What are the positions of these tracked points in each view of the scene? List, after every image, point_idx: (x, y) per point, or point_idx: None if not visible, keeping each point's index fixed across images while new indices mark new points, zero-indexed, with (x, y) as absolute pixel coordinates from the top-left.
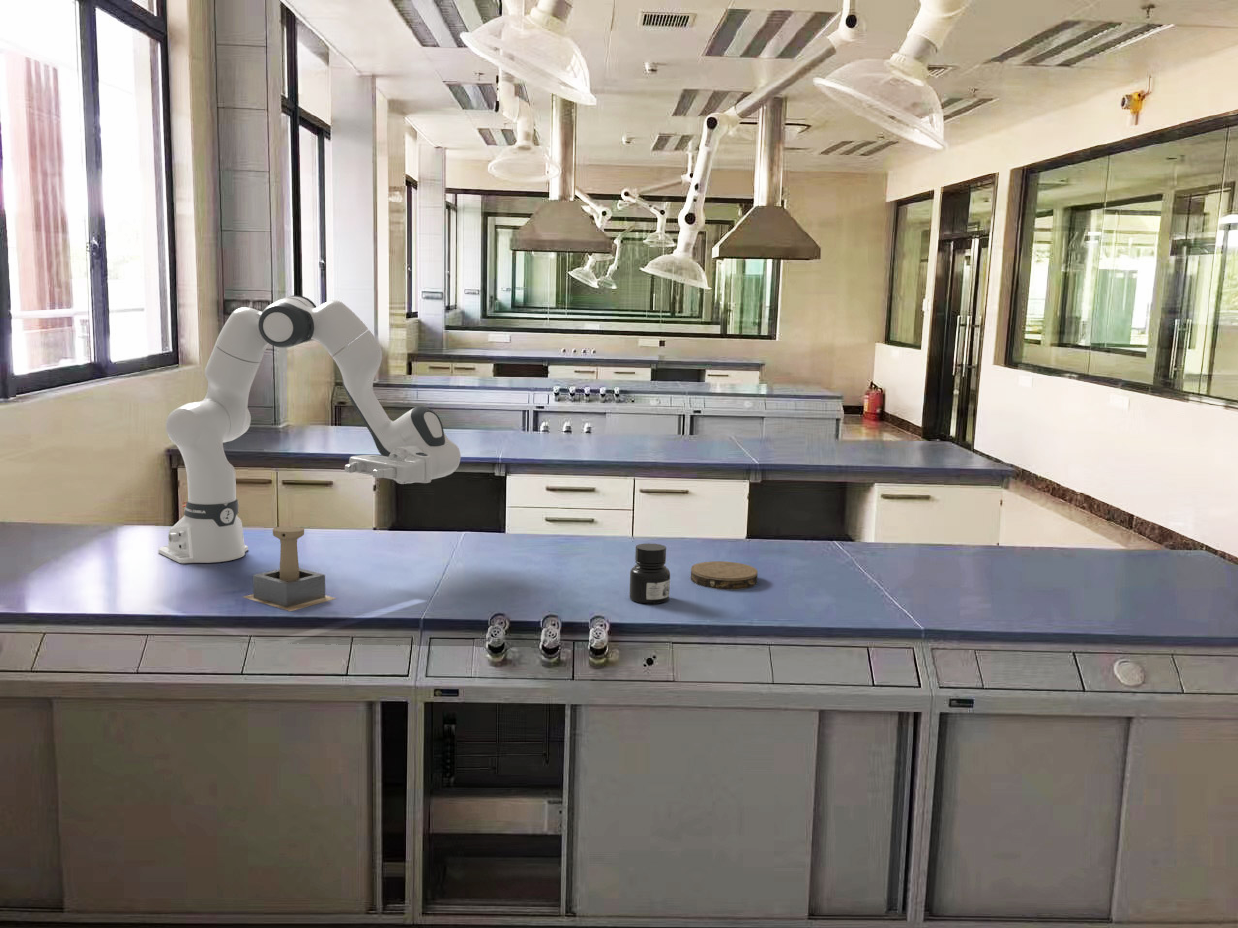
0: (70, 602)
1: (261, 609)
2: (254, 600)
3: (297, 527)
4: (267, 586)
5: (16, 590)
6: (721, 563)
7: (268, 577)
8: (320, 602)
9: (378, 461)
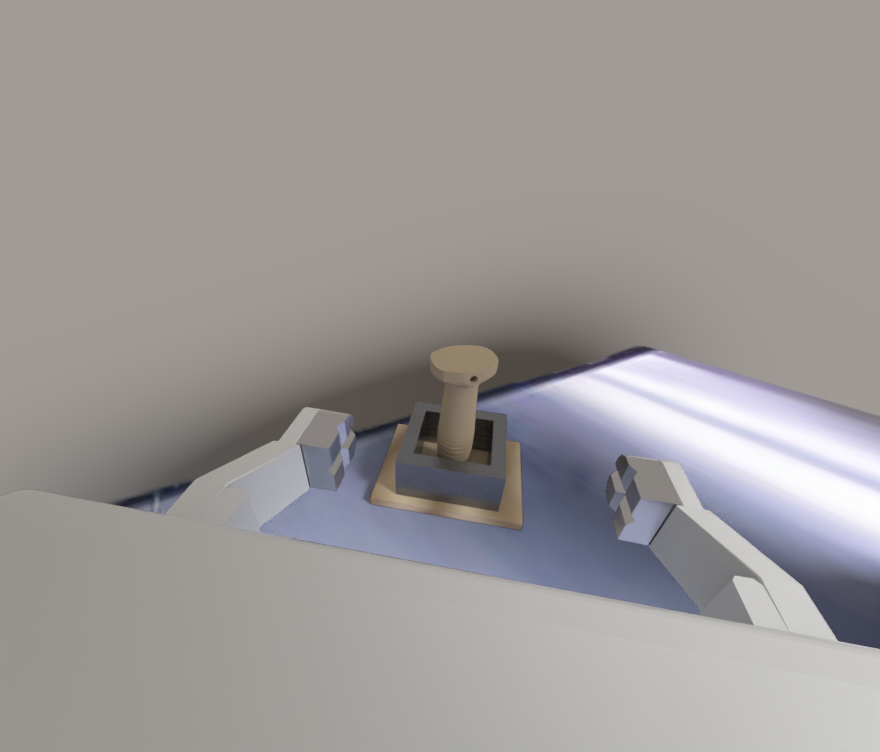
0: (666, 378)
1: None
2: None
3: (461, 371)
4: None
5: (762, 383)
6: None
7: None
8: (383, 468)
9: (459, 590)
